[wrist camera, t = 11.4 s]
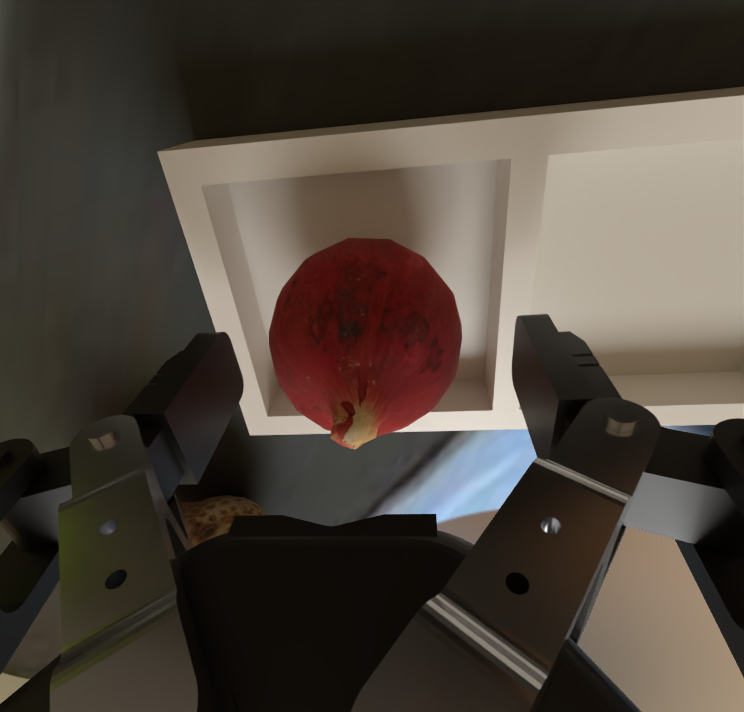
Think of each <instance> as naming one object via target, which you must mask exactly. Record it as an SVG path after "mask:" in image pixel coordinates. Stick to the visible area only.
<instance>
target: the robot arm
mask: <svg viewBox="0 0 744 712" xmlns="http://www.w3.org/2000/svg"><path fill="white" fill-rule="evenodd" d="M512 381H513V386H514V389H515V392H516V395H517V398H518V401H519V404H520V407H521V410H522V413H523V416H524V419H525V422H526V425H527V428H528V431H529V434H530V437H531V440H532V443H533V446H534V449H535V452H536V455H537V458H536V459H535V460H534V461H533V463H532V464H531V465H530V467H529V468H528V469H527V471H526V472H525V474H524V475H523V476H522V478H521V479H520V481H519V482H518V484H517V485H516V486H515V488H514V489H513V491H512V492H511V493H510V495H509V496H508V498H507V499H506V501H505V502H504V503H503V505H502V506H501V508H500V509H499V510H498V512H497V513H496V515H495V516H494V518H493V519H492V520H491V522H490V523H489V525H488V526H487V528H486V529H485V530H484V532H483V533H482V535H481V536H480V537H479V539H478V540H477V542H476V543H475V544H474V545H473V544H472V543H470V542H468V541H466V540H464V539H462V538H460V537H457V536H454V535H451V534H449V533H446V532H442V531H438V530H437V522H436V514H384V515H380V516H376V517H372V518H367V519H363V520H359V521H355V522H350V523H346V524H342V525H338V526H324V525H320V524H316V523H312V522H308V521H304V520H300V519H296V518H291V517H287V516H283V515H248V516H234V519H233V522H232V524H231V527H230V529H229V532H228V533H224V534H221V535H219V536H216V537H213V538H210V539H208V540H206V541H204V542H202V543H199V544H198V545H196V546H193V543H192V540H191V537H190V534H189V531H188V528H187V525H186V522H185V519H184V516H183V513H182V510H181V507H180V505H179V502H178V499H177V497H176V495H175V493H174V491H175V489H176V488H177V486H178V485H186V484H198V483H199V481H200V479H201V477H202V475H203V473H204V471H205V469H206V467H207V465H208V463H209V461H210V459H211V457H212V455H213V453H214V451H215V449H216V447H217V445H218V443H219V441H220V439H221V437H222V435H223V433H224V431H225V429H226V427H227V425H228V423H229V421H230V419H231V417H232V415H233V413H234V411H235V409H236V407H237V406H238V404H239V402H240V400H241V397H242V395H243V389H244V382H243V376H242V373H241V370H240V367H239V364H238V361H237V358H236V355H235V352H234V348H233V345H232V342H231V339H230V337H229V335H228V334H227V333H226V332H210V333H198V334H197V335H196V336H195V337H194V338H193V339H192V341H191V342H190V343H189V344H188V346H187V347H186V348H185V349H184V351H181V352H179V353H178V354H176V355H175V356H173V357H172V358H171V359H169V360H168V361H166V362H165V364H164V365H163V366H162V367H161V368H160V370H159V371H158V372H157V375H155V376H154V377H153V378H152V379H151V380H150V382H149V385H146V387H145V388H144V389H143V390H142V391H141V393H140V394H139V395H138V396H137V397H136V399H135V400H134V401H133V402H132V403H131V405H130V406H129V407H128V408H127V410H126V411H125V412H124V413H123V414H122V415H115V416H110V417H107V418H104V419H101V420H99V421H96V422H94V423H92V424H91V425H89V426H87V427H86V428H84V429H83V430H82V431H80V432H79V433H78V434H77V435H76V436H75V438H74V439H73V440H72V442H71V444H70V446H69V447H66V448H62V449H58V450H54V451H50V452H46V453H42V454H40V453H39V452H38V450H37V449H36V447H35V446H34V445H33V443H32V442H31V441H30V440H27V439H12V440H8V441H4V442H1V443H0V528H1V529H2V530H3V531H4V532H5V533H6V534H7V535H8V536H9V537H10V538H11V540H12V541H11V543H10V544H9V545H8V546H7V548H6V549H5V550H4V552H3V553H2V554H1V555H0V674H1V673H2V671H3V669H4V668H5V666H6V665H7V663H8V661H9V660H10V658H11V657H12V655H13V653H14V652H15V650H16V649H17V647H18V645H19V644H20V642H21V641H22V639H23V637H24V636H25V634H26V633H27V631H28V629H29V628H30V626H31V625H32V623H33V621H34V620H35V618H36V617H37V615H38V613H39V612H40V610H41V609H42V607H43V605H44V604H45V602H46V601H47V599H48V597H49V596H50V594H51V593H52V591H53V589H54V588H55V586H56V585H57V583H58V581H59V580H60V614H61V654H60V655H59V656H58V657H56V658H55V659H54V660H53V661H52V662H50V663H49V664H48V665H47V666H46V667H44V668H43V669H42V670H41V671H40V672H38V673H37V674H36V675H35V676H34V677H32V678H31V679H30V680H29V681H28V682H26V683H25V684H24V685H23V686H22V687H20V688H19V689H18V690H17V691H16V692H14V693H13V694H12V695H11V696H9V697H8V698H7V699H6V700H5V701H3V702H2V703H1V704H0V712H641V711H640V710H639V709H638V708H637V707H636V706H635V705H634V703H633V702H632V701H631V700H630V699H629V698H628V697H627V696H626V695H625V694H624V693H623V692H622V691H621V690H620V689H619V688H618V687H617V686H616V685H615V684H614V683H613V682H612V681H611V680H610V679H609V677H608V676H607V675H606V674H605V673H604V672H603V671H602V670H601V669H600V668H599V667H598V666H597V665H596V664H595V663H594V662H593V661H592V660H591V659H590V658H589V657H588V656H587V655H586V654H585V653H584V652H583V650H582V649H581V648H580V647H579V646H578V643H579V641H580V639H581V637H582V634H583V632H584V629H585V627H586V624H587V622H588V619H589V617H590V614H591V612H592V609H593V607H594V604H595V601H596V599H597V596H598V594H599V591H600V589H601V587H602V584H603V582H604V580H605V577H606V575H607V573H608V571H609V568H610V566H611V564H612V561H613V559H614V557H615V554H616V552H617V550H618V547H619V545H620V543H621V540H622V538H623V536H624V533H625V531H626V529H627V527H631V528H634V529H638V530H642V531H646V532H650V533H654V534H658V535H661V536H665V537H670V538H673V539H675V541H676V542H677V545H678V546H679V548H680V551H681V553H682V555H683V557H684V559H685V560H686V563H687V564H688V567H689V569H690V571H691V572H692V574H693V577H694V579H695V581H696V583H697V585H698V587H699V589H700V590H701V593H702V594H703V597H704V599H705V601H706V603H707V605H708V607H709V609H710V611H711V613H712V614H713V617H714V618H715V621H716V623H717V624H718V627H719V628H720V631H721V633H722V635H723V637H724V639H725V641H726V642H727V645H728V647H729V649H730V651H731V653H732V655H733V657H734V659H735V661H736V663H737V665H738V667H739V669H740V671H741V673H742V675H743V677H744V419H741V418H736V419H727V420H724V421H721V422H719V423H718V424H717V425H716V426H715V427H714V429H713V431H712V434H711V436H705V435H699V434H694V433H688V432H682V431H677V430H672V429H667V428H664V427H661V425H660V422H659V421H658V419H657V417H656V416H655V415H654V414H653V413H652V412H650V411H649V410H648V409H646V408H644V407H643V406H641V405H639V404H637V403H634V402H631V401H628V400H625V399H623V398H622V397H621V395H620V394H619V392H618V391H617V389H616V388H615V386H614V385H613V383H612V382H611V380H610V379H609V377H608V376H607V374H606V373H605V371H604V370H603V368H602V367H601V366H600V363H599V362H598V360H597V359H596V357H595V356H593V353H592V351H591V350H590V348H589V347H588V345H587V344H586V342H585V341H584V340H582V339H581V338H579V337H578V336H576V335H575V334H573V333H571V332H570V331H565V332H558V330H557V328H556V327H555V325H554V323H553V322H552V320H551V318H550V316H549V315H548V314H536V315H519V316H517V318H516V323H515V333H514V344H513V355H512Z"/></svg>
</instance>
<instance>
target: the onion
mask: <svg viewBox="0 0 744 712" xmlns="http://www.w3.org/2000/svg"><path fill="white" fill-rule="evenodd" d="M461 342H462V324H461V320H460V316H459V313H458V309H457V305H456V301H455V297H454V293H453V292H452V291H451V289H450V288H449V287H448V286H447V284H446V283H445V282H444V281H443V279H442V278H441V277H440V276H439V274H438V273H437V272H436V271H435V270H434V268H433V267H432V266H431V265H430V263H429V262H428V261H427V260H426V259H425V257H423V256H421V255H419V254H417V253H415V252H414V251H412V250H410V249H408V248H406V247H404V246H402V245H400V244H398V243H396V242H394V241H393V240H391V239H373V238H347V239H345V240H343V241H341V242H338V243H336V244H334V245H332V246H330V247H327V248H325V249H323V250H321V251H319V252H316V253H314V254H313V255H311V256H310V257H308V258H307V259H305V260H304V261H303V263H302V264H301V265H300V266H299V268H298V269H297V270H296V271H295V273H294V274H293V275H292V276H291V278H290V279H289V280H288V281H287V283H286V284H285V285H284V286H283V288H282V290H281V292H280V294H279V296H278V299H277V301H276V305H275V309H274V313H273V317H272V321H271V325H270V329H269V347H270V352H271V357H272V361H273V366H274V370H275V375H276V377H277V379H278V382H279V384H280V386H281V387H282V389H283V390H284V392H285V393H286V395H287V397H288V398H289V400H290V401H291V403H292V404H293V406H294V407H295V409H296V410H297V411H298V412H299V413H301V414H302V415H304V416H305V417H307V418H308V419H310V420H311V421H313V422H314V423H316V424H317V425H319V426H320V427H322V428H323V429H325V430H328V431H331V437H330V438H331V439H333V440H334V441H335V442H337V443H338V444H339V445H342V446H344V447H347V448H351V449H357V448H358V447H359V446H361V445H362V444H363V443H365V442H367V441H370V440H372V439H374V438H376V437H377V436H380V435H384V434H387V433H390V432H394V431H397V430H400V429H403V428H405V427H407V426H409V425H410V424H412V423H413V422H415V421H416V420H418V419H420V418H421V417H423V416H424V415H426V414H427V413H429V412H430V411H432V410H433V409H434V408H435V407H436V405H437V404H438V403H439V402H440V400H441V399H442V397H443V395H444V394H445V392H446V391H447V389H448V388H449V386H450V385H451V383H452V382H453V380H454V379H455V376H456V373H457V369H458V365H459V358H460V350H461Z"/></svg>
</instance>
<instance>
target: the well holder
mask: <svg viewBox="0 0 744 712" xmlns="http://www.w3.org/2000/svg"><path fill="white" fill-rule="evenodd" d="M157 153H158V156H159V159H160V162H161V165H162V168H163V171H164V174H165V177H166V180H167V183H168V186H169V189H170V192H171V195H172V198H173V202H174V205H175V208H176V211H177V214H178V217H179V220H180V223H181V226H182V229H183V232H184V235H185V238H186V241H187V244H188V247H189V251H190V254H191V257H192V260H193V263H194V266H195V269H196V272H197V275H198V278H199V281H200V284H201V287H202V290H203V293H204V296H205V300H206V303H207V306H208V309H209V312H210V315H211V318H212V321H213V324H214V327H215V330H216V332H226V333H227V334H228V335H229V337H230V339H231V342H232V345H233V348H234V352H235V355H236V358H237V361H238V364H239V367H240V370H241V373H242V376H243V382H244V389H243V395H242V397H241V400H240V402H239V404H240V407H241V410H242V413H243V416H244V419H245V422H246V425H247V428H248V431H249V434H250V435H288V434H331V431H328V430H325V429H323V428H322V427H320V426H319V425H317V424H316V423H314V422H313V421H311V420H310V419H308V418H307V417H305V416H304V415H302V414H301V413H299V412H298V411H297V410H296V409H295V407H294V406H293V404H292V403H291V401H290V400H289V398H288V397H287V395H286V393H285V392H284V390H283V389H282V387H281V386H280V384H279V382H278V379H277V377H276V375H275V370H274V366H273V361H272V357H271V352H270V347H269V329H270V325H271V321H272V317H273V313H274V309H275V305H276V301H277V299H278V296H279V294H280V292H281V290H282V288H283V286H284V285H285V284H286V283H287V281H288V280H289V279H290V278H291V276H292V275H293V274H294V273H295V271H296V270H297V269H298V268H299V266H300V265H301V264H302V263H303V261H304V260H305V259H307V258H308V257H310V256H311V255H313V254H314V253H316V252H319V251H321V250H323V249H325V248H327V247H330V246H332V245H334V244H336V243H338V242H341V241H343V240H345V239H347V238H373V239H391V240H393V241H394V242H396V243H398V244H400V245H402V246H404V247H406V248H408V249H410V250H412V251H414V252H415V253H417V254H419V255H421V256H423V257H425V259H426V260H427V261H428V262H429V263H430V265H431V266H432V267H433V268H434V270H435V271H436V272H437V273H438V274H439V276H440V277H441V278H442V279H443V281H444V282H445V283H446V284H447V286H448V287H449V288H450V289H451V291H452V292H453V293H454V297H455V301H456V305H457V309H458V313H459V316H460V320H461V324H462V342H461V350H460V358H459V365H458V369H457V373H456V376H455V379H454V380H453V382H452V383H451V385H450V386H449V388H448V389H447V391H446V392H445V394H444V395H443V397H442V399H441V400H440V402H439V403H438V404H437V405H436V407H435V408H434V409H433V410H432V411H430V412H429V413H427V414H426V415H424V416H423V417H421V418H420V419H418V420H416V421H415V422H413V423H412V424H410V425H409V426H407V427H405V428H403V429H400V430H397V431H394V432H417V431H460V430H503V429H528V428H527V425H526V422H525V419H524V416H523V413H522V410H521V407H520V404H519V401H518V398H517V395H516V392H515V389H514V386H513V381H512V355H513V344H514V333H515V323H516V318H517V316H519V315H536V314H548V315H549V316H550V318H551V320H552V322H553V323H554V325H555V327H556V328H557V330H558V332H565V331H570V332H571V333H573V334H575V335H576V336H578V337H579V338H581V339H582V340H584V341H585V342H586V344H587V345H588V347H589V348H590V350H591V351H592V353H593V356H595V357H596V359H597V360H598V362H599V363H600V366H601V367H602V368H603V370H604V371H605V373H606V374H607V376H608V377H609V379H610V380H611V382H612V383H613V385H614V386H615V388H616V389H617V391H618V392H619V394H620V395H621V397H622V398H623V399H625V400H628V401H631V402H634V403H637V404H639V405H641V406H643V407H644V408H646V409H648V410H649V411H650V412H652V413H653V414H654V415H655V416H656V417H657V419H658V421H659V422H660V425H661V426H675V425H717V424H718V423H719V422H721V421H724V420H727V419H736V418H741V419H744V87H735V88H725V89H714V90H704V91H694V92H684V93H674V94H664V95H653V96H643V97H633V98H623V99H613V100H603V101H592V102H582V103H572V104H562V105H552V106H542V107H531V108H521V109H511V110H501V111H491V112H481V113H470V114H460V115H450V116H440V117H430V118H419V119H409V120H399V121H389V122H379V123H369V124H358V125H348V126H338V127H328V128H318V129H308V130H297V131H287V132H277V133H267V134H257V135H247V136H236V137H226V138H216V139H206V140H196V141H191V142H188V143H185V144H181V145H178V146H175V147H171V148H168V149H165V150H161V151H158V152H157Z"/></svg>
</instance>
